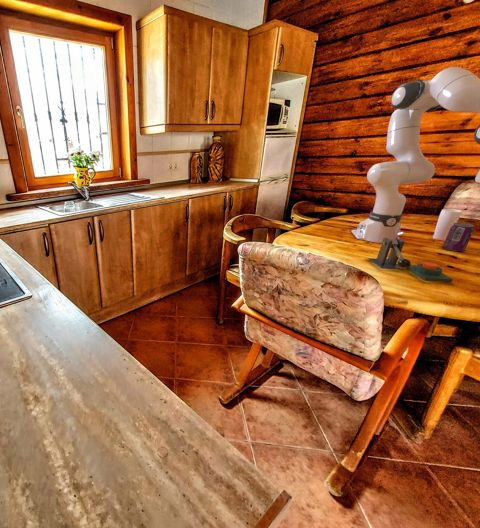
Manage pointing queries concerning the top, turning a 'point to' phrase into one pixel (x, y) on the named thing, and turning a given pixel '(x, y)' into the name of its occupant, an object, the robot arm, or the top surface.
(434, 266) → the button
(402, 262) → the lever
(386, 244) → the power bracket
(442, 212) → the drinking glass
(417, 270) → the panel
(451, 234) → the purple box
